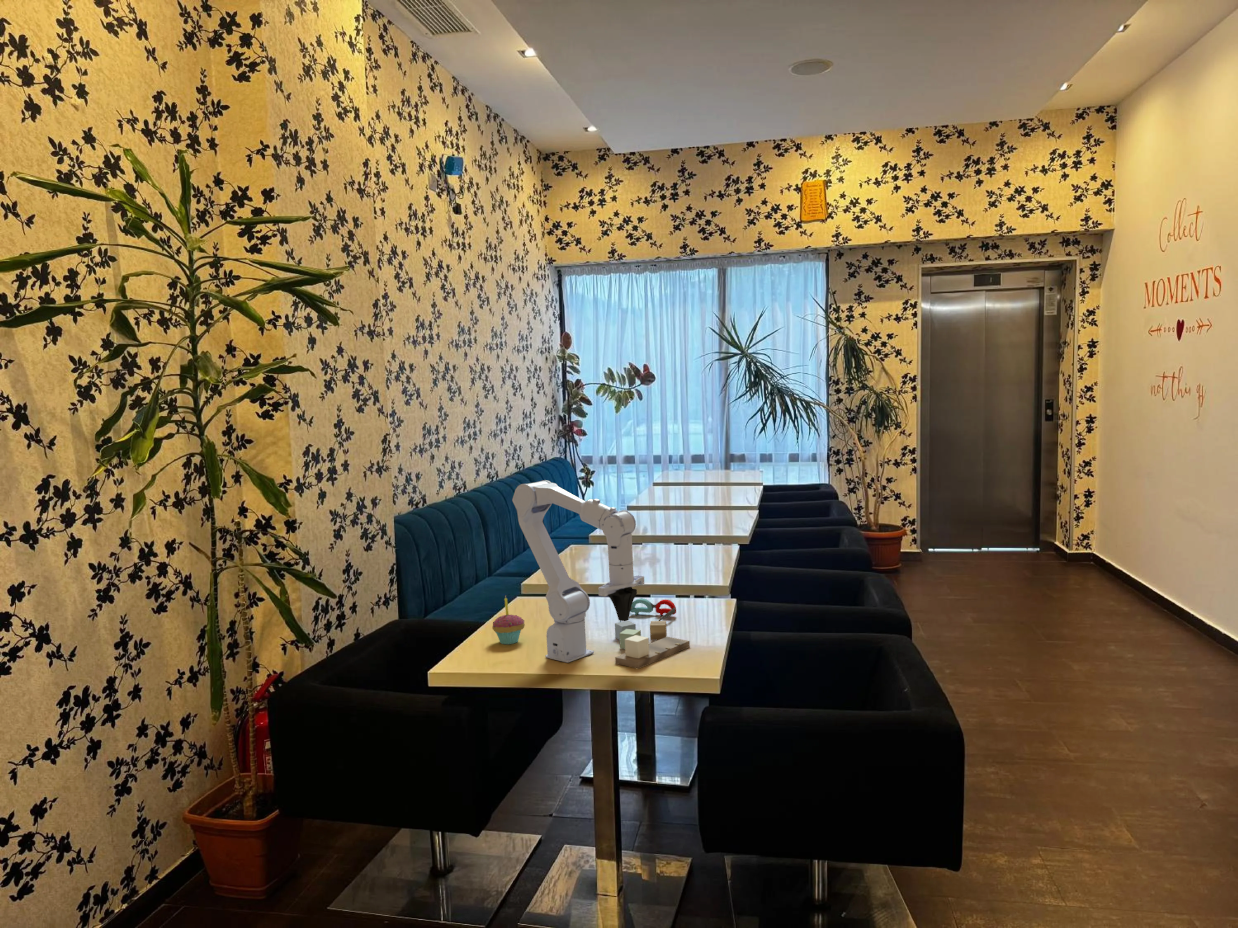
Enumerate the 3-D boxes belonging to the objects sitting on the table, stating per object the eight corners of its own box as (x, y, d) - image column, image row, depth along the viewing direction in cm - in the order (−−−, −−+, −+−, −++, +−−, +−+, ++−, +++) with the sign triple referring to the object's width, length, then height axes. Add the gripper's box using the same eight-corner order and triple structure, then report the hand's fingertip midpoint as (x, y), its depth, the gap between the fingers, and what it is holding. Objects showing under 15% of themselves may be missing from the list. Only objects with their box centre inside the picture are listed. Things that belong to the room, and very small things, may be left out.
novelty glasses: (678, 616, 241) (677, 599, 241) (661, 631, 227) (660, 612, 227) (632, 614, 246) (631, 597, 246) (613, 628, 232) (612, 610, 232)
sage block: (634, 650, 210) (633, 634, 210) (620, 648, 212) (619, 633, 212) (641, 645, 214) (640, 630, 214) (627, 644, 216) (626, 628, 215)
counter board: (638, 668, 196) (637, 661, 196) (615, 663, 201) (615, 656, 200) (689, 646, 211) (689, 640, 211) (667, 642, 215) (667, 635, 215)
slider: (638, 658, 198) (637, 641, 198) (625, 655, 201) (624, 639, 201) (649, 654, 201) (648, 637, 201) (636, 651, 204) (635, 634, 204)
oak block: (665, 640, 218) (665, 624, 217) (650, 640, 218) (649, 625, 218) (666, 635, 222) (666, 620, 221) (651, 635, 222) (650, 621, 222)
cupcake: (490, 639, 225) (487, 595, 224) (521, 635, 228) (518, 591, 227) (497, 648, 217) (494, 602, 216) (529, 643, 220) (527, 598, 219)
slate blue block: (622, 641, 218) (621, 626, 218) (615, 638, 222) (614, 623, 221) (636, 638, 220) (635, 623, 220) (628, 635, 224) (628, 620, 223)
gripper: (613, 570, 190) (616, 629, 191) (653, 559, 201) (655, 615, 202) (590, 567, 195) (593, 625, 196) (630, 556, 206) (632, 611, 207)
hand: (623, 619), depth 200 cm, fingers closed
